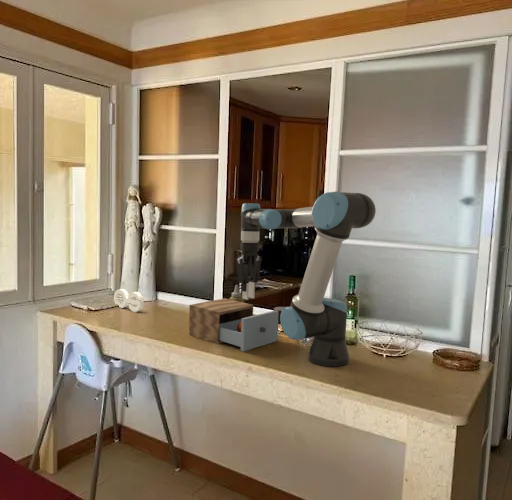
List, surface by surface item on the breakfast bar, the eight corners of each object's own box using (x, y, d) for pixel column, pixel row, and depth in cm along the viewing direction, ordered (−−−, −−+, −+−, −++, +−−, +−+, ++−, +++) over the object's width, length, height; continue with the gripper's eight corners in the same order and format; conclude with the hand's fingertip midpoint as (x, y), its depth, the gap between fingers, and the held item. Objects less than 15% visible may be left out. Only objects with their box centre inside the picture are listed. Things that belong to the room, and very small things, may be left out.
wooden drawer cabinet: (252, 334, 210) (253, 304, 209) (217, 344, 195) (218, 312, 194) (223, 326, 222) (224, 298, 221) (189, 334, 207) (189, 304, 205)
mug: (279, 334, 211) (280, 312, 210) (265, 331, 216) (266, 309, 215) (293, 330, 219) (294, 309, 218) (280, 327, 224) (281, 306, 223)
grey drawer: (280, 341, 200) (281, 311, 199) (245, 352, 185) (246, 319, 183) (245, 331, 213) (246, 303, 212) (210, 341, 198) (211, 310, 196)
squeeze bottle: (247, 322, 232) (248, 285, 230) (237, 325, 225) (238, 287, 223) (234, 319, 236) (235, 283, 234) (224, 322, 229) (224, 285, 228)
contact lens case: (113, 306, 256) (113, 288, 255) (117, 305, 258) (117, 287, 257) (140, 313, 243) (140, 293, 242) (143, 312, 244) (143, 293, 243)
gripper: (256, 239, 203) (254, 294, 205) (229, 241, 191) (228, 299, 193) (269, 241, 198) (267, 297, 200) (243, 243, 186) (241, 302, 188)
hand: (248, 298), depth 196 cm, fingers open, 3 cm apart
